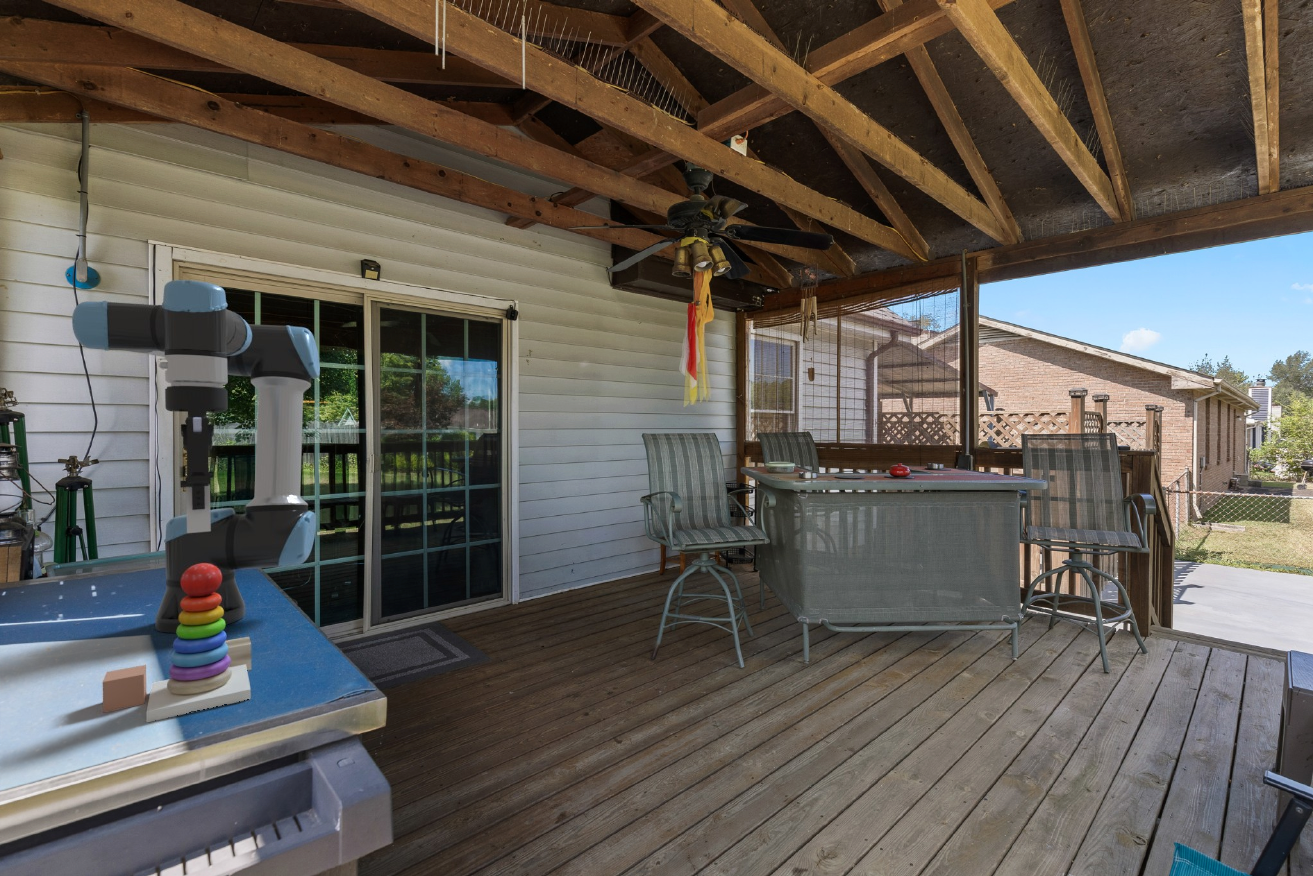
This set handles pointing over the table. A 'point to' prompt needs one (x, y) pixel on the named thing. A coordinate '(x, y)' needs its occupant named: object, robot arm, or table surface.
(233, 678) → the white square slab
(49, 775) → the table surface
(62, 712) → the table surface
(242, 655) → the birch block
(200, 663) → the stacking toy
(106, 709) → the terracotta block
